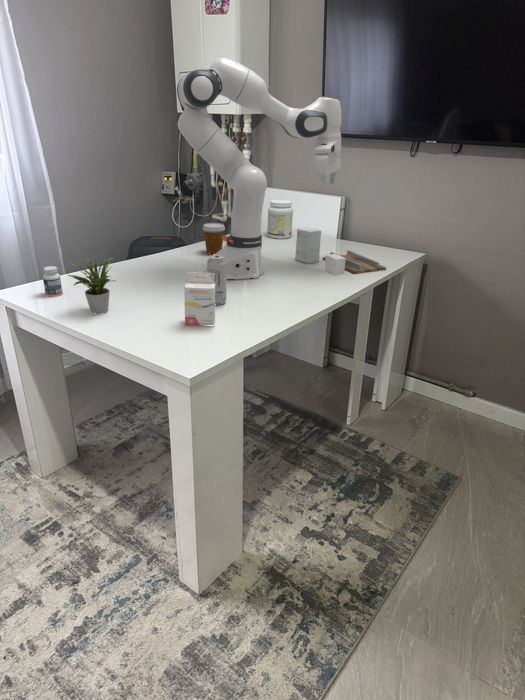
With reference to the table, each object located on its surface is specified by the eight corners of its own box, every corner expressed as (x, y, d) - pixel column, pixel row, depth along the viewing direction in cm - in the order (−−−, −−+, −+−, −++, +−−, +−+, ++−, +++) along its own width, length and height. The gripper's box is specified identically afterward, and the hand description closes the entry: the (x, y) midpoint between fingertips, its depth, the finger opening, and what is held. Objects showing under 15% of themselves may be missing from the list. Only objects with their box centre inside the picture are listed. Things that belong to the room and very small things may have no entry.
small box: (319, 261, 210) (321, 230, 204) (308, 264, 206) (310, 232, 200) (305, 257, 215) (307, 226, 209) (294, 259, 211) (296, 228, 206)
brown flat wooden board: (353, 274, 195) (354, 266, 194) (322, 259, 213) (322, 252, 211) (385, 269, 202) (387, 262, 201) (353, 255, 219) (353, 249, 218)
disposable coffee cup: (204, 249, 220) (204, 222, 215) (226, 250, 220) (226, 223, 215) (201, 255, 212) (200, 227, 206) (223, 256, 212) (223, 228, 206)
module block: (334, 274, 194) (336, 259, 192) (324, 269, 200) (325, 254, 197) (344, 273, 196) (345, 258, 193) (333, 268, 202) (335, 253, 199)
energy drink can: (205, 305, 160) (204, 258, 153) (209, 298, 165) (209, 253, 159) (224, 306, 159) (224, 260, 153) (228, 300, 164) (228, 255, 158)
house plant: (96, 298, 162) (91, 248, 155) (133, 305, 157) (129, 254, 150) (66, 313, 150) (58, 259, 143) (104, 321, 145) (98, 266, 138)
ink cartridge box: (184, 326, 144) (183, 276, 138) (186, 319, 148) (184, 271, 142) (214, 326, 144) (214, 277, 138) (215, 320, 149) (215, 272, 142)
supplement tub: (280, 232, 256) (281, 198, 248) (296, 237, 248) (299, 202, 240) (261, 235, 249) (263, 200, 241) (278, 240, 240) (280, 204, 233)
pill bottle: (45, 292, 165) (41, 266, 161) (62, 291, 167) (58, 265, 163) (45, 297, 161) (41, 270, 157) (62, 296, 163) (59, 269, 159)
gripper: (328, 143, 192) (328, 181, 198) (311, 149, 176) (312, 190, 182) (345, 143, 190) (344, 181, 196) (328, 148, 173) (328, 190, 179)
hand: (328, 185), depth 189 cm, fingers open, 8 cm apart
